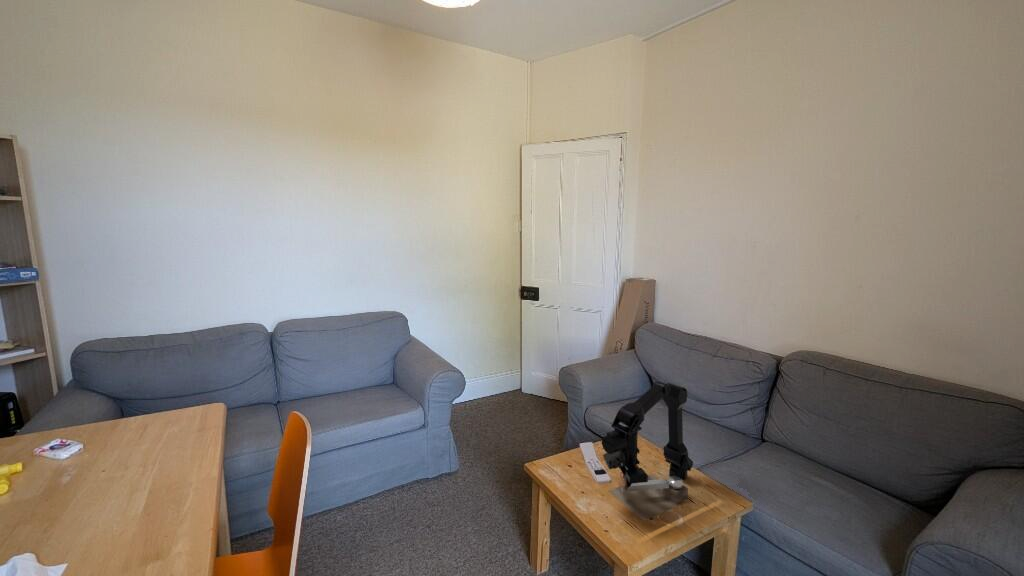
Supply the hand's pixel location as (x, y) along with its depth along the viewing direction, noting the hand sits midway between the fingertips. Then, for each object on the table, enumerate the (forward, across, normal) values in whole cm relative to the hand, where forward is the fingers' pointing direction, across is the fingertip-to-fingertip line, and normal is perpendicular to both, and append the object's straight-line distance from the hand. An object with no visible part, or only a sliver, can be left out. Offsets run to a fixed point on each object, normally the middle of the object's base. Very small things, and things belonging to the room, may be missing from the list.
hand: (628, 486), depth 143 cm
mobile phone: (+9, -25, -4) cm, 27 cm away
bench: (+9, -5, +10) cm, 14 cm away
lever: (+3, -3, +10) cm, 11 cm away
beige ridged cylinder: (+7, -11, +9) cm, 16 cm away
